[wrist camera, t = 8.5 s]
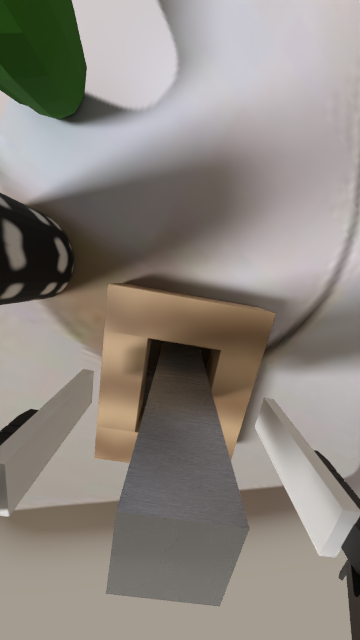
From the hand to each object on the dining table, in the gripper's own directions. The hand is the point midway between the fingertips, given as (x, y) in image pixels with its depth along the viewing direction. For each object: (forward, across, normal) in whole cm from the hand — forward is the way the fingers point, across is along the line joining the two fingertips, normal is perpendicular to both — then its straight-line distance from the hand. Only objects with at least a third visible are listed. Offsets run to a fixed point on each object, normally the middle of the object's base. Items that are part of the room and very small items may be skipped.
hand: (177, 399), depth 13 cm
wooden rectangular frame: (+6, 0, -2) cm, 6 cm away
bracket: (+6, 0, -1) cm, 6 cm away
